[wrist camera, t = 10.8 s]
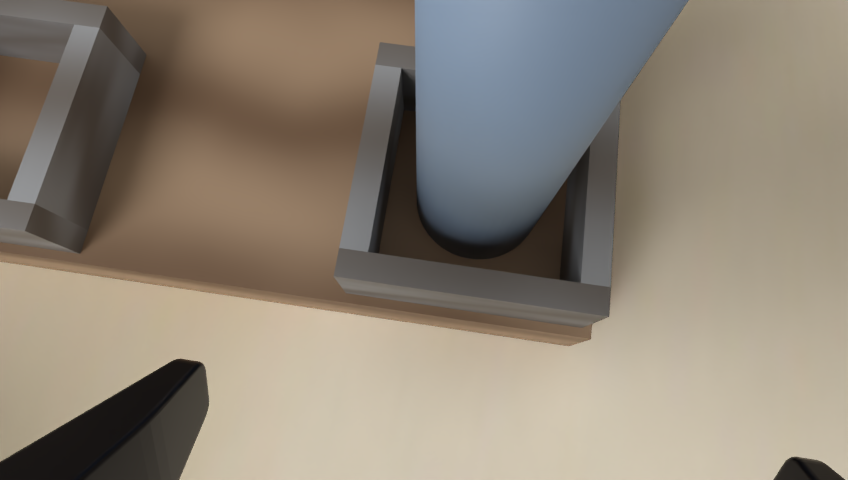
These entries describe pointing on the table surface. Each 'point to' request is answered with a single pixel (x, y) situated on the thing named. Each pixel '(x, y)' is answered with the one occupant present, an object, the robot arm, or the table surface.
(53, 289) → the table surface
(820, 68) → the table surface
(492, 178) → the stool leg
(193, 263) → the four-cup wooden tray
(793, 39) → the table surface
